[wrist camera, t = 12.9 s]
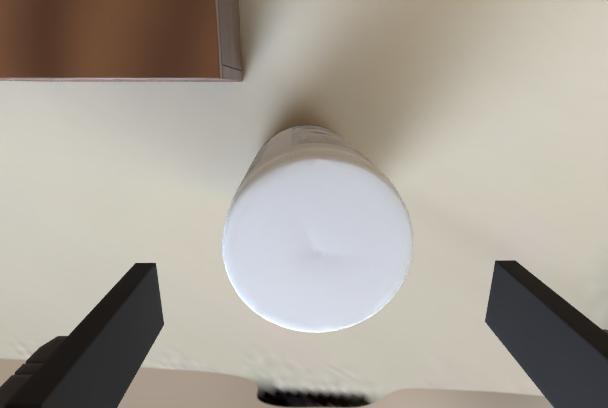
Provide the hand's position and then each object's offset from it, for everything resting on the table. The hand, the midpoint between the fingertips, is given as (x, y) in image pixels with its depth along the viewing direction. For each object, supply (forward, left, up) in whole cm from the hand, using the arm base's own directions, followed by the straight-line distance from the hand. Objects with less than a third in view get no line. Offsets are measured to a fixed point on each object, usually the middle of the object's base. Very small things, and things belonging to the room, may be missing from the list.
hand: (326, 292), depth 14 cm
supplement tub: (0, 0, -18) cm, 18 cm away
